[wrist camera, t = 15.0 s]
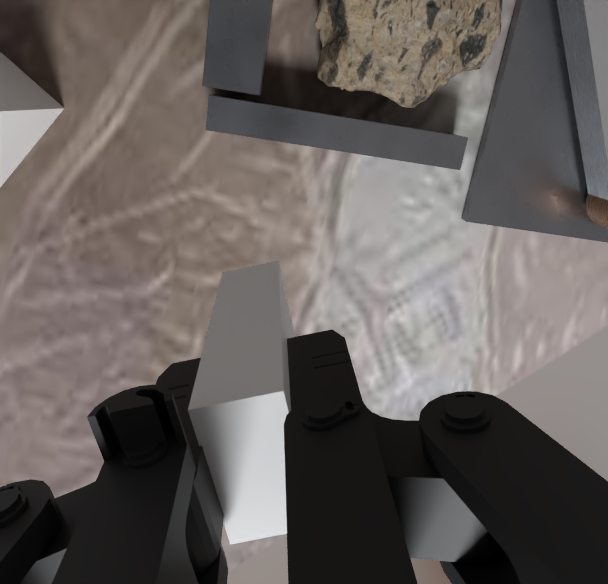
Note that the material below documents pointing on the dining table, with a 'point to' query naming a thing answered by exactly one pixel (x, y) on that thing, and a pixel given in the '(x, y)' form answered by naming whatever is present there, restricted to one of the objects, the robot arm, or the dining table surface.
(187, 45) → the dining table surface
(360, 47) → the rock
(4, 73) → the milk
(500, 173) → the cracker base
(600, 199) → the lever
